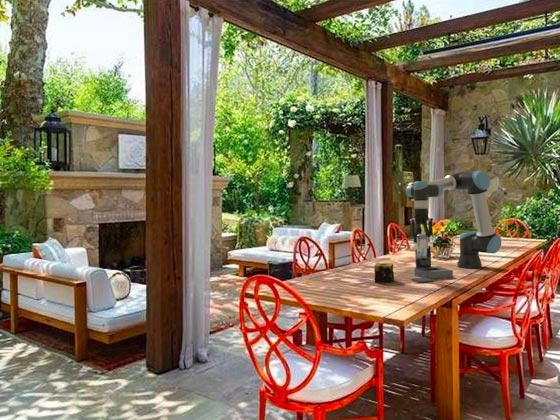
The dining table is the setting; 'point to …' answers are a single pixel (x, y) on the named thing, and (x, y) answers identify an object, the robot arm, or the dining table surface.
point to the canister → (423, 259)
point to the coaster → (422, 280)
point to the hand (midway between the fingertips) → (421, 248)
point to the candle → (384, 272)
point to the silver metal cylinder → (422, 246)
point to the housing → (433, 272)
